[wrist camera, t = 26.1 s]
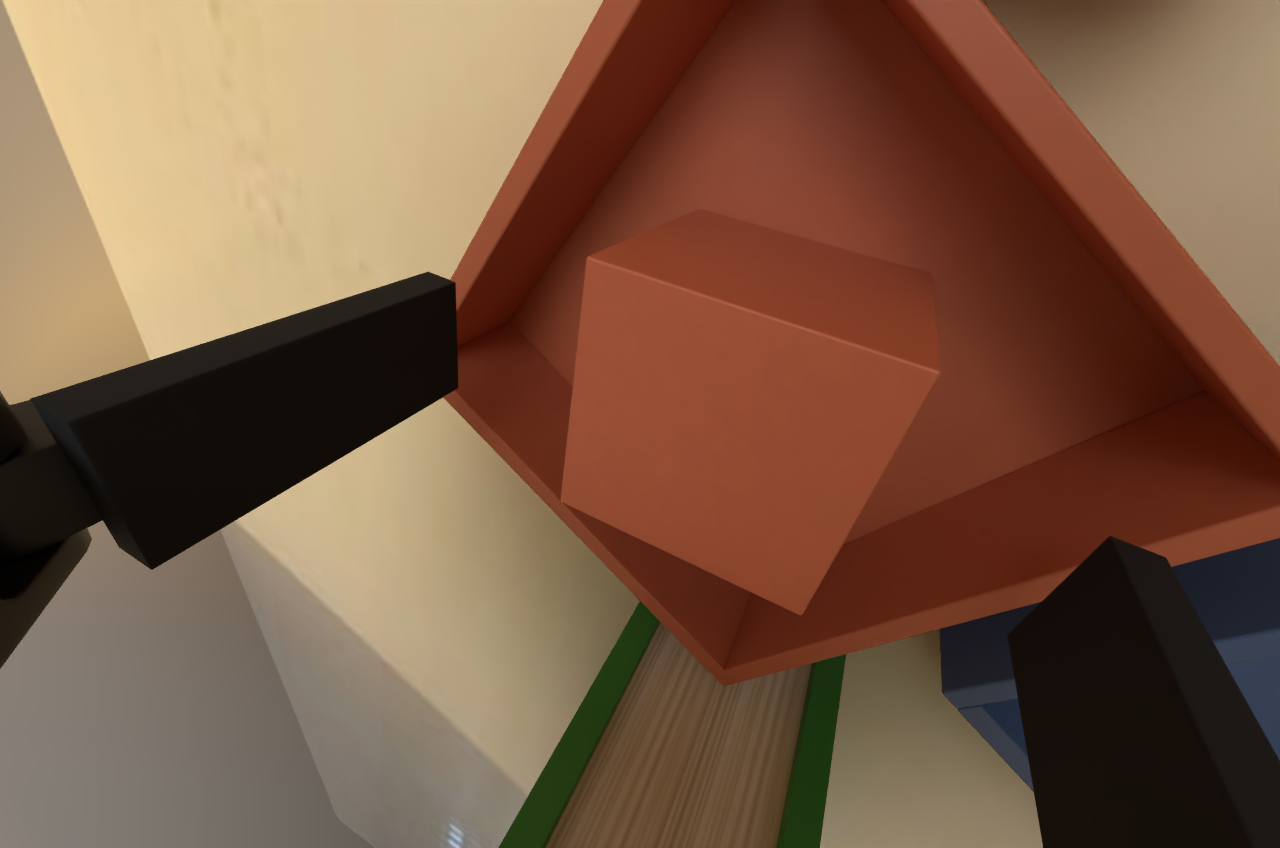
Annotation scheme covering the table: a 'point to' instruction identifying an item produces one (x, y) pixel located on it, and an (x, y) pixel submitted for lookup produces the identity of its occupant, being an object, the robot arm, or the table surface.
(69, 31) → the table surface
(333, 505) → the table surface
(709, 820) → the hardback book
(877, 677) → the table surface
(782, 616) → the rust bin
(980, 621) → the slate bin
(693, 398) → the rust block
